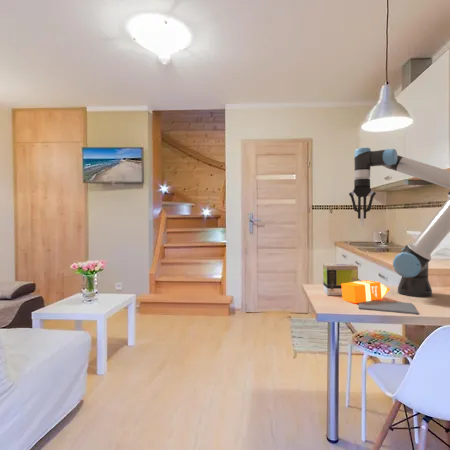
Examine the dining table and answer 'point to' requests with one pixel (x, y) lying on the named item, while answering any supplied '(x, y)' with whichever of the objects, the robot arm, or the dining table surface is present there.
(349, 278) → the tea box
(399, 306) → the mat
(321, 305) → the dining table surface
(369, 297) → the orange juice
